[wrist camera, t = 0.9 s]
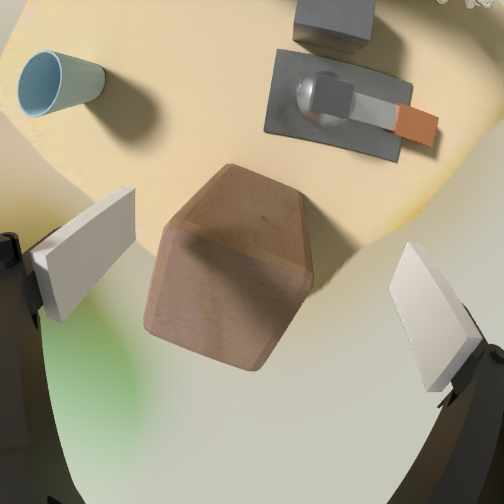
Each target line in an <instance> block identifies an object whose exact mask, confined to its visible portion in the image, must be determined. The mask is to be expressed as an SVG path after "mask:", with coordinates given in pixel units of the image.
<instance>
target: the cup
mask: <svg viewBox="0 0 504 504" xmlns="http://www.w3.org/2000/svg"><path fill="white" fill-rule="evenodd" d="M104 84H105V73H104V71H103V69H102V68H101V67H100V66H99V65H97V64H95V63H92V62H89V61H85V60H82V59H79V58H75V57H72V56H68V55H64V54H61V53H57V52H53V51H49V50H43V51H40V52H38V53H36V54H35V55H33V56H32V57H31V58H30V59H29V60H28V61H27V63H26V64H25V66H24V67H23V69H22V72H21V74H20V77H19V81H18V87H17V97H18V102H19V105H20V107H21V109H22V111H23V112H24V113H25V114H26V115H28V116H30V117H40V116H43V115H46V114H49V113H52V112H55V111H58V110H62V109H65V108H68V107H72V106H75V105H79V104H83V103H86V102H90V101H92V100H94V99H96V98H97V97H98V96H99V95H100V93H101V92H102V90H103V88H104Z"/></svg>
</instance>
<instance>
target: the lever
mask: <svg viewBox="0 0 504 504" xmlns="http://www.w3.org/2000/svg"><path fill="white" fill-rule="evenodd" d="M411 89H412V84H411V83H409V82H406V81H403V80H400V79H398V78H395V77H392V76H389V75H386V74H383V73H380V72H377V71H373V70H370V69H367V68H363V67H360V66H356V65H353V64H349V63H345V62H341V61H337V60H333V59H329V58H324V57H320V56H315V55H310V54H305V53H300V52H294V51H288V50H282V49H277V52H276V58H275V64H274V70H273V76H272V82H271V88H270V94H269V100H268V106H267V112H266V118H265V124H264V132H270V133H276V134H282V135H287V136H293V137H298V138H303V139H308V140H312V141H317V142H322V143H326V144H331V145H335V146H339V147H343V148H347V149H351V150H355V151H359V152H363V153H367V154H370V155H374V156H378V157H381V158H385V159H388V160H391V161H395V162H396V161H397V157H398V153H399V148H400V144H401V140H402V137H405V138H408V139H411V140H414V141H416V142H419V143H422V144H425V145H428V146H431V147H433V143H434V138H435V134H436V129H437V124H438V119H439V118H438V117H436V116H433V115H431V114H428V113H426V112H423V111H421V110H418V109H415V108H413V107H410V106H409V101H410V95H411Z"/></svg>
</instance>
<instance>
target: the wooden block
mask: <svg viewBox="0 0 504 504" xmlns="http://www.w3.org/2000/svg"><path fill="white" fill-rule="evenodd" d="M313 279H314V273H313V266H312V258H311V251H310V243H309V236H308V229H307V223H306V216H305V210H304V203H303V197H302V194H301V193H300V192H299V191H298V190H296V189H294V188H291V187H289V186H287V185H284V184H282V183H280V182H277V181H275V180H272V179H270V178H267V177H265V176H263V175H260V174H258V173H255V172H253V171H250V170H248V169H245V168H242V167H240V166H237V165H235V164H226V165H225V166H224V167H223V168H222V169H221V170H220V171H218V172H217V173H216V174H215V175H214V176H213V177H212V178H211V179H210V180H209V181H208V182H207V183H206V184H205V185H204V186H203V187H202V188H201V189H200V190H199V191H198V192H197V193H196V194H195V195H194V196H193V197H192V198H191V199H190V200H189V201H188V202H187V203H186V204H185V205H184V206H183V207H182V208H181V209H180V210H179V211H178V212H177V213H176V214H175V215H174V216H173V218H172V219H171V220H170V221H169V222H168V223H167V224H166V226H165V227H164V230H163V234H162V237H161V241H160V245H159V249H158V253H157V257H156V262H155V266H154V270H153V275H152V279H151V283H150V288H149V293H148V298H147V303H146V307H145V312H144V318H143V320H144V321H143V323H144V328H145V330H147V331H148V332H149V333H150V334H152V335H154V336H156V337H159V338H161V339H163V340H166V341H168V342H171V343H173V344H176V345H178V346H180V347H183V348H185V349H188V350H190V351H193V352H196V353H198V354H201V355H204V356H206V357H209V358H212V359H215V360H217V361H220V362H223V363H226V364H228V365H231V366H234V367H237V368H240V369H243V370H246V371H257V370H259V369H260V368H261V367H262V366H263V365H264V363H265V362H266V360H267V359H268V357H269V355H270V354H271V353H272V351H273V349H274V348H275V346H276V345H277V343H278V342H279V340H280V339H281V337H282V336H283V334H284V332H285V331H286V329H287V328H288V326H289V324H290V323H291V321H292V320H293V318H294V316H295V315H296V313H297V312H298V309H299V308H300V307H301V305H302V303H303V302H304V300H305V298H306V297H307V295H308V293H309V292H310V290H311V288H312V287H313Z"/></svg>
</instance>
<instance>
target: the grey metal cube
mask: <svg viewBox="0 0 504 504" xmlns="http://www.w3.org/2000/svg"><path fill="white" fill-rule="evenodd" d="M374 8H375V0H298V1H297V7H296V13H295V19H294V27H293V40H295V41H301V42H306V43H311V44H316V45H321V46H325V47H330V48H334V49H338V50H342V51H346V52H350V53H355V52H356V51H357V50H359V49H360V48H361V47H363V46H364V45H365V44H366V43H368V42H369V41H370V39H371V32H372V24H373V16H374Z"/></svg>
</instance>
